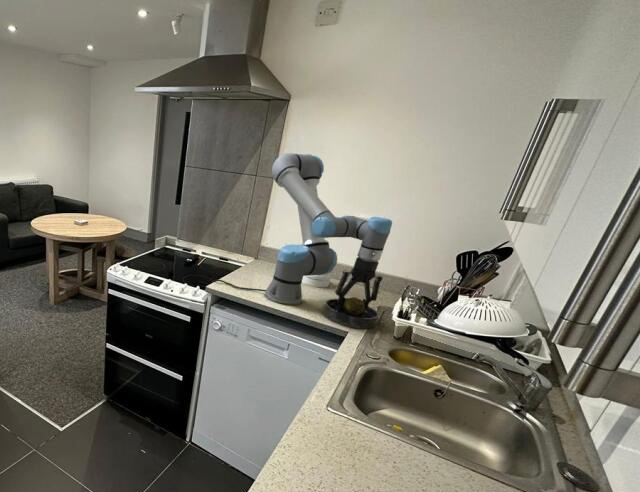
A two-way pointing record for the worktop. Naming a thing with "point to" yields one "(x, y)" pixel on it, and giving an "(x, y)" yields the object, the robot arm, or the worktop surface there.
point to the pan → (350, 316)
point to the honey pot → (317, 280)
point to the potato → (354, 305)
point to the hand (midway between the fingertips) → (349, 313)
